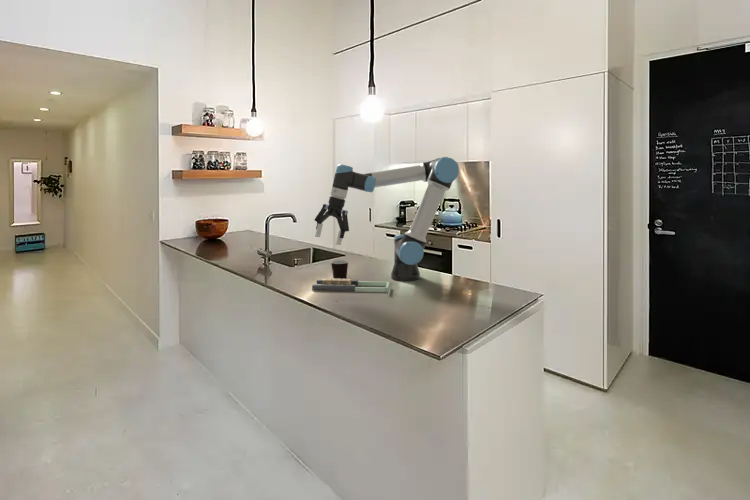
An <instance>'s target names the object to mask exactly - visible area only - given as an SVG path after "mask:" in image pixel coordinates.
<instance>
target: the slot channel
mask: <svg viewBox="0 0 750 500" xmlns="http://www.w3.org/2000/svg"><path fill="white" fill-rule="evenodd" d="M322 280H323V279H316V283H313V284H312V285H311V290H312V291H313V292H314V291H317V292H320V291H321V292H323V291H324V292H327V291H329V292H355V287H359V285H358V281H359V279H351V285H340V284H322Z"/></svg>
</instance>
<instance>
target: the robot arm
mask: <svg viewBox="0 0 750 500" xmlns="http://www.w3.org/2000/svg"><path fill="white" fill-rule="evenodd" d="M353 169H354V168H353V166H350V165H346V164H345V165H344V164H340V163H339V164H338V165H337V166H336V169H335V172H334V177H333V182H332V185H331V186H332V187H331V189H330V195H331V196H329V199H328V204H326V203H323V204H322V207H321V210H319V212H318V214H317V215H316V216H315V218H314V221H315V222H316V228H315V229H316V231H315V234H314V236H315V237H316V238H320V237H321V236H322V235H321V234H322V231H323V230H322V229H323V225H324V223H323V222H325V221H326V220H327V219H328V218H329V217H333V218H335V219H336V221H337V224H338V227H339V231H338V233H337V237H336V242H335V245H339V246H341V244H342V242H343V241H342V240H343V239H344V238H345V233H346V232H349V231H350V226H349V220H348V213H349V211H348V210H346V209H345V210H343V208H344V207H345V203H346V199H347V195H348V190H349V188H352V189H354V190H358V191H362V192H365V193H373V192H374V190H375V188H380V187H387V186H392V185H399V184H406V183H413V182H418V181H419V182H420V181H421V182H424V183H425V182H427V187H426V189H425V191H424V195H423V197H422V199H421V202H420V204H419V206H418V208H417V211H416V214H415V215H414V217H413V220H412V223H411V225H410V228H409V230H407V231H406V232H404V234H395V235H394V239H393V243H394V247H393V248H394V255H393V257H394V258H393V260H394V263H393V266H392V270H391V272H390V278H391V279H392V280H395V281H398V282H399V281H401V282H402V281H404V282H411V281H417V280H420V278H421V273H420V270H419V267H418V264H419V263H420V262H422V261H421V260H422V259H423V257H424V255H425V254H424V253H425V252H424V250H425V248H426V245H427V243H428V242H427V239H426V237H427V234H428V232H429V230H430V227H431V225H432V222H433V220H434V218H435V216H436V214H437V212H438V209H439V206H440V205H441V202H442V201H443V197H444V195H445V193H446V192H447V191H449V190H451V187H452V184H453V182H454V181H455V180H456V179H457V178H458V176H459V173H460V168H459V165H458V162H457V161H456V160H455V159H453V158H451V157H449V156H443V157H438V158H435V159H432V160H430V161H429V160H428V161H426V162H425V161H424V162H421V163H420V164H419V165H413V166H407V167H406V166H405V167H402V168H401V167H399V168H393V169H387V170H382V171H375V172H369V173H368V172H367V173H360V172H356V171H354V170H353Z"/></svg>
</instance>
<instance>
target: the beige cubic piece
mask: <svg viewBox="0 0 750 500" xmlns="http://www.w3.org/2000/svg"><path fill="white" fill-rule="evenodd" d="M351 280H352V279H351V278H347V279H342V280H341V285H351Z"/></svg>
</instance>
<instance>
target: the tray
mask: <svg viewBox="0 0 750 500" xmlns="http://www.w3.org/2000/svg"><path fill="white" fill-rule="evenodd" d="M365 286H366V287H365ZM374 286H375V287H374ZM389 291H390V281H366V280H364V281H363V280H358V287H355V291H354V292H356V293H357V292H358V293H359V292H365V293H369V292H370V293H386V295H388V294H389Z"/></svg>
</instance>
